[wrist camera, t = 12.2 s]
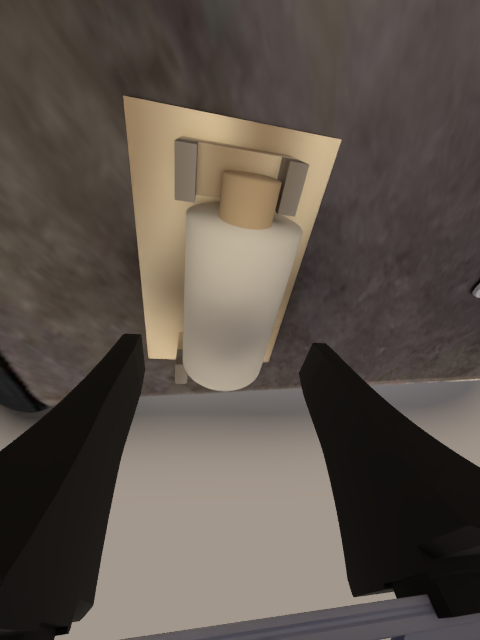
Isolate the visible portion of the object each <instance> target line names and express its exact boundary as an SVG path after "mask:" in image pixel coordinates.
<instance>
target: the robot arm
mask: <svg viewBox="0 0 480 640" xmlns="http://www.w3.org/2000/svg"><path fill="white" fill-rule="evenodd" d="M472 294H473V295H474V296H475V297H477V298H480V283H479V284H478V285H477V287H476V288H475V289H474V290H473V293H472ZM144 373H145V364H144V355H143V346H142V337H141V334H124V335H122V336H121V338H120V339H119V340H118V341H117V343H116V344H115V345H114V346H113V347H112V349H111V350H110V351H109V352H108V353H107V354H106V355H105V357H104V358H103V359H102V360H101V361H100V362H99V363H98V364H97V365H96V366H95V368H94V369H93V370H92V371H91V372H90V373H89V374H88V375H87V376H86V377H85V378H84V379H83V380H82V381H81V382H80V383H79V384H78V385H77V386H76V387H75V388H74V389H73V390H72V391H71V392H70V393H69V394H68V395H67V396H66V397H65V398H64V399H63V400H62V401H61V402H59V403H58V404H57V405H56V406H55V407H54V408H53V409H52V410H51V411H50V412H48V413H47V414H46V415H45V416H44V417H42V418H41V419H40V420H39V421H38V422H37V423H35V424H34V425H33V426H32V427H30V428H29V429H28V430H27V431H25V432H24V433H23V434H22V435H20V436H19V437H18V438H17V439H16V440H14V441H13V442H12V443H10V444H9V445H8V446H6V447H5V448H4V449H2V450H1V451H0V640H54V637H55V636H57V635H63V634H68V633H69V631H70V628H71V624H72V622H77V621H80V620H81V619H82V618H83V617H84V616H85V615H86V614H87V612H88V611H89V610H90V609H91V607H92V606H93V604H94V598H95V592H96V585H97V580H98V574H99V568H100V562H101V556H102V551H103V545H104V540H105V534H106V529H107V523H108V518H109V513H110V508H111V503H112V498H113V493H114V488H115V483H116V479H117V474H118V469H119V465H120V460H121V456H122V453H123V449H124V445H125V442H126V439H127V436H128V433H129V430H130V426H131V423H132V420H133V417H134V414H135V410H136V407H137V404H138V400H139V397H140V394H141V389H142V384H143V378H144ZM299 376H300V381H301V386H302V390H303V395H304V398H305V401H306V404H307V407H308V409H309V413H310V415H311V418H312V421H313V424H314V427H315V430H316V432H317V435H318V438H319V441H320V444H321V447H322V450H323V453H324V458H325V462H326V466H327V470H328V474H329V478H330V482H331V487H332V491H333V496H334V500H335V506H336V510H337V516H338V521H339V527H340V532H341V538H342V545H343V551H344V557H345V564H346V571H347V578H348V582H349V585H350V589H351V592H352V595H353V597H358V596H366V595H373V594H380V593H387V592H393V591H394V592H395V595H396V597H397V599H392V600H385V601H378V602H372V603H365V604H358V605H351V606H344V607H338V608H331V609H324V610H317V611H310V612H304V613H297V614H290V615H284V616H277V617H270V618H263V619H256V620H250V621H243V622H236V623H229V624H223V625H216V626H209V627H202V628H196V629H189V630H182V631H175V632H169V633H162V634H155V635H148V636H142V637H135V638H128V639H121V640H380V639H386V638H391V637H392V638H391V640H480V467H478V466H476V465H475V464H473V463H471V462H470V461H468V460H467V459H465V458H464V457H462V456H460V455H459V454H457V453H456V452H454V451H453V450H451V449H449V448H448V447H447V446H445V445H444V444H442V443H441V442H439V441H438V440H436V439H435V438H434V437H432V436H431V435H429V434H428V433H426V432H425V431H424V430H422V429H421V428H420V427H418V426H417V425H416V424H414V423H413V422H412V421H410V420H409V419H408V418H407V417H405V416H404V415H403V414H401V413H400V412H399V411H398V410H396V409H395V408H394V407H393V406H392V405H390V404H389V403H388V402H387V401H386V400H385V399H384V398H382V397H381V396H380V395H379V394H378V393H377V392H376V391H374V390H373V389H372V388H371V387H370V386H369V385H368V384H367V383H366V382H365V381H364V380H363V379H362V378H361V377H360V376H359V375H358V374H357V373H356V372H354V371H353V370H352V369H351V368H350V367H349V366H348V365H347V364H346V363H345V362H344V361H343V360H342V359H341V358H340V357H339V356H338V355H337V354H336V353H335V352H334V351H333V350H332V349H331V348H330V347H329V346H328V345H327V344H325V343H313V344H312V346H311V348H310V350H309V353H308V355H307V357H306V359H305V361H304V364H303V366H302V368H301V370H300V372H299Z"/></svg>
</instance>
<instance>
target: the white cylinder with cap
mask: <svg viewBox="0 0 480 640" xmlns="http://www.w3.org/2000/svg"><path fill="white" fill-rule="evenodd" d="M281 184H282V182H281V181H279V180H277V179H275V178H272V177H269V176H265V175H261V174H257V173H252V172H246V171H238V170H225V171H223V179H222V189H221V199H220V203H219V202H214V203H202V204H197V205H194V206H191V207H190V208H188V209H187V211H186V240H185V280H184V321H183V365H184V368H185V370H186V372H187V374H188V375H189V376H190V377H191V378H192V379H193V380H194V381H195V382H197V383H198V384H200V385H202V386H204V387H206V388H209V389H212V390H218V391H232V390H237V389H241V388H243V387H246V386H247V385H249V384H250V383H252V382H253V381H254V380H255V379H256V377H257V376H258V374H259V372H260V369H261V366H262V363H263V360H264V356H265V353H266V350H267V347H268V344H269V340H270V337H271V334H272V331H273V327H274V324H275V321H276V318H277V315H278V311H279V308H280V305H281V302H282V299H283V295H284V292H285V289H286V286H287V282H288V279H289V276H290V273H291V270H292V266H293V263H294V260H295V257H296V254H297V250H298V247H299V244H300V241H301V238H302V234H303V231H302V229H301V227H300V226H299V225H298V224H296V223H295V222H294V221H292V220H290V219H288V218H286V217H284V216H282V215H280V214H277V213H275V209H276V205H277V201H278V197H279V192H280V188H281Z"/></svg>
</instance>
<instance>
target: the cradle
mask: <svg viewBox="0 0 480 640" xmlns="http://www.w3.org/2000/svg"><path fill="white" fill-rule="evenodd" d="M123 98H124V109H125V119H126V129H127V140H128V150H129V160H130V171H131V181H132V192H133V202H134V212H135V223H136V233H137V243H138V254H139V264H140V274H141V285H142V295H143V305H144V316H145V326H146V336H147V347H148V357H149V358H153V359H176V362H175V384H187V376H188V374H187V372H186V370H185V368H184V365H183V321H184V280H185V240H186V211H187V209H188V208H190V207H191V206H194V205H197V204H202V203H214V202H219V203H220V199H221V189H222V179H223V171H225V170H238V171H246V172H252V173H257V174H261V175H265V176H269V177H272V178H275V179H277V180H279V181H281V182H282V184H281V188H280V192H279V197H278V201H277V205H276V209H275V213H277V214H280V215H282V216H284V217H286V218H288V219H290V220H292V221H294V222H295V223H296V224H298V225H299V226H300V227H301V229H302V231H303V234H302V238H301V241H300V244H299V247H298V250H297V254H296V257H295V260H294V263H293V266H292V270H291V273H290V276H289V279H288V282H287V286H286V289H285V292H284V295H283V299H282V302H281V305H280V308H279V311H278V315H277V318H276V321H275V324H274V327H273V331H272V334H271V337H270V340H269V344H268V347H267V350H266V353H265V356H264V360H263V362H268V361H269V358H270V355H271V352H272V349H273V346H274V343H275V340H276V337H277V334H278V331H279V328H280V325H281V322H282V319H283V316H284V313H285V310H286V307H287V304H288V301H289V298H290V295H291V292H292V289H293V286H294V283H295V280H296V277H297V273H298V270H299V267H300V264H301V261H302V258H303V255H304V252H305V249H306V246H307V243H308V240H309V237H310V234H311V231H312V228H313V225H314V222H315V219H316V216H317V213H318V210H319V207H320V204H321V201H322V198H323V195H324V192H325V189H326V185H327V182H328V179H329V176H330V173H331V170H332V167H333V164H334V161H335V158H336V155H337V152H338V149H339V146H340V143H341V140H340V139H335V138H330V137H326V136H321V135H316V134H311V133H306V132H301V131H296V130H291V129H286V128H281V127H276V126H271V125H266V124H261V123H256V122H251V121H246V120H242V119H237V118H232V117H227V116H222V115H217V114H212V113H207V112H202V111H197V110H192V109H187V108H182V107H177V106H172V105H167V104H162V103H158V102H153V101H148V100H143V99H138V98H133V97H128V96H123Z"/></svg>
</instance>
